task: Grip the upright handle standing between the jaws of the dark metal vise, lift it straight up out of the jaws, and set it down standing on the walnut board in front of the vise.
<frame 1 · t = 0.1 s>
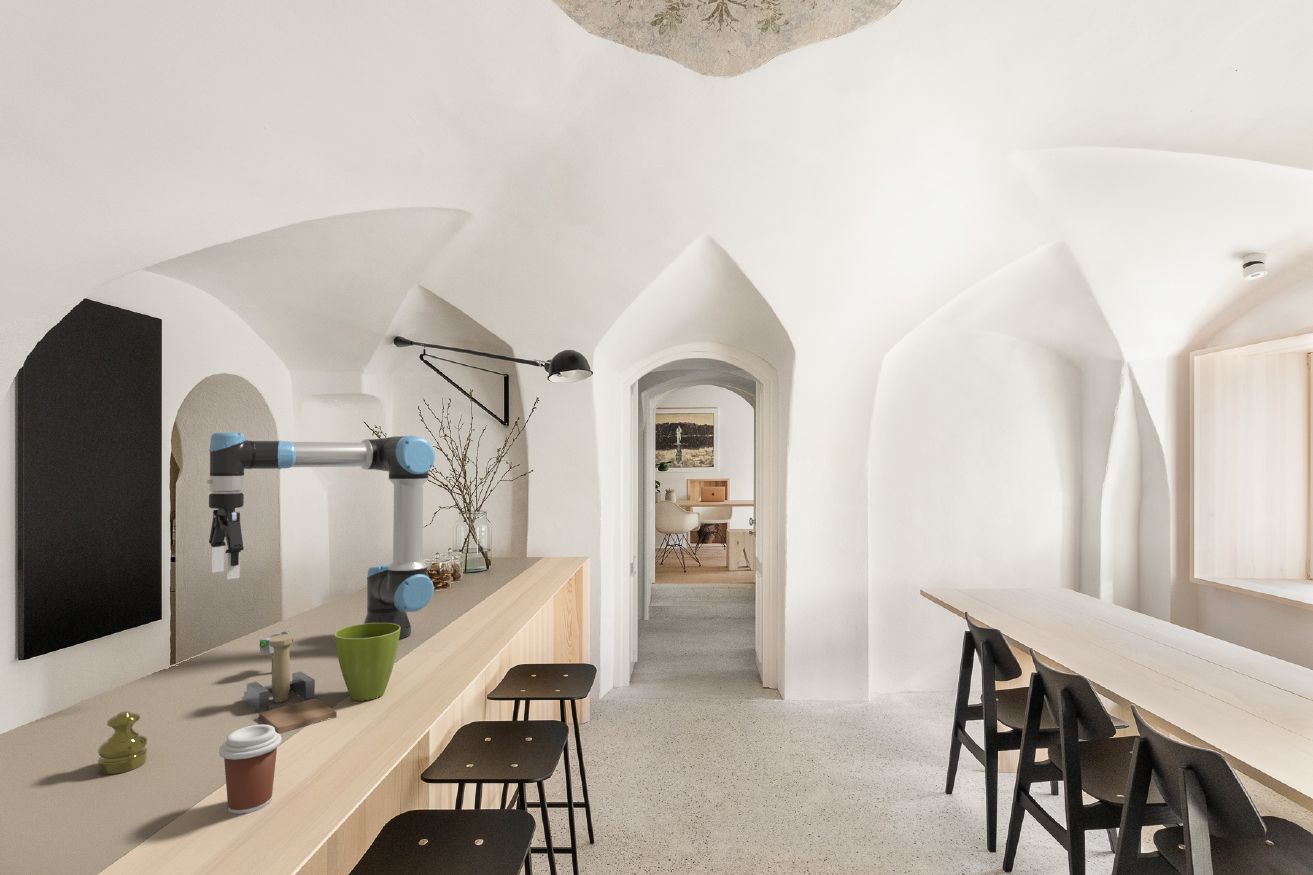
hand: (225, 575, 170), 28 cm above the bar counter, tool pointing down, fingers open, 13 cm apart
coffee cup: (250, 804, 112), on the bar counter
flower pot: (367, 696, 162), on the bar counter
vise: (280, 700, 159), on the bar counter
mechanical component: (274, 673, 179), on the bar counter
walnut board: (298, 717, 148), on the bar counter
olive glossy bulbous piece: (122, 766, 126), on the bar counter
handle: (280, 701, 159), on the bar counter
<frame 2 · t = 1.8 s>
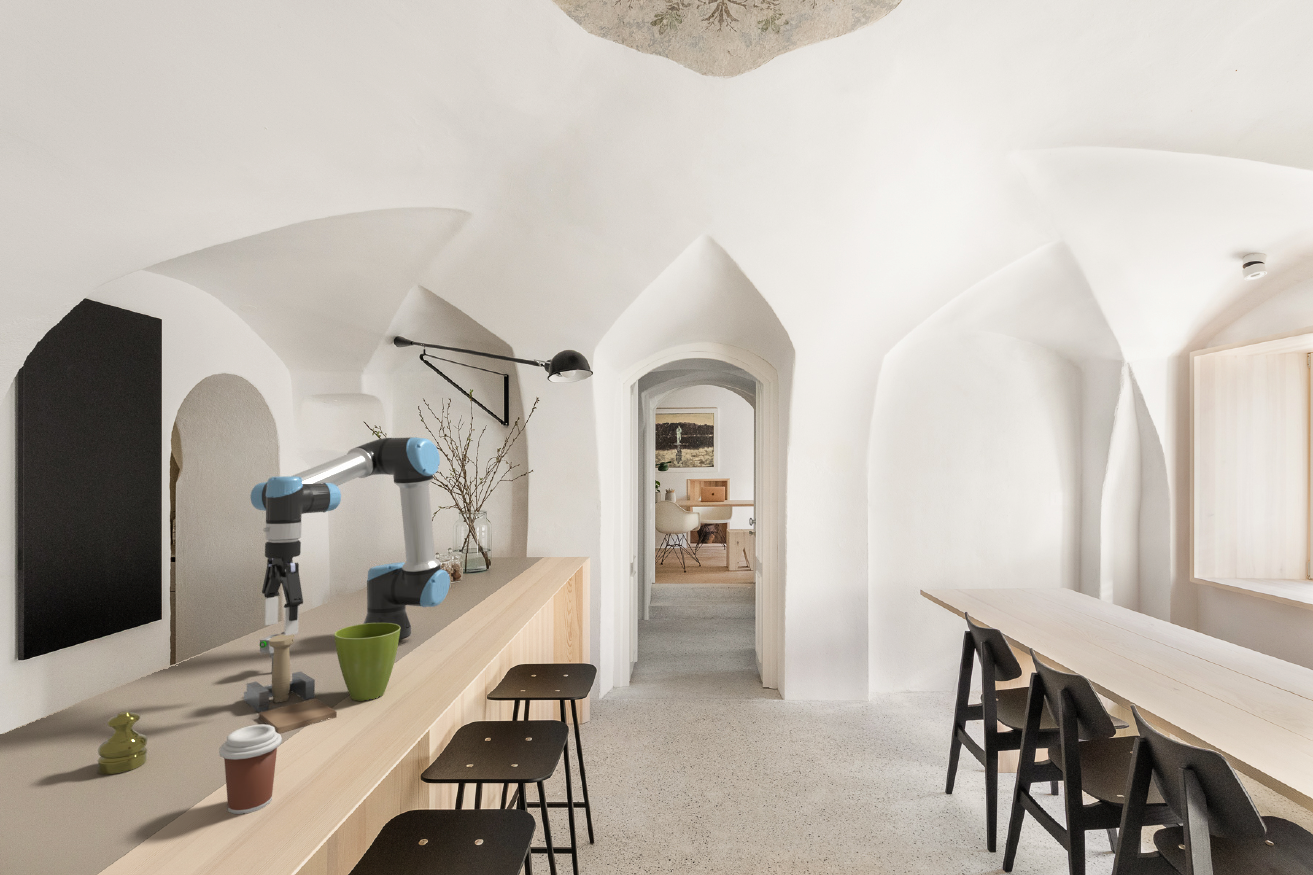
hand: (281, 629, 159), 17 cm above the bar counter, tool pointing down, fingers open, 13 cm apart
nothing on the bar counter moved.
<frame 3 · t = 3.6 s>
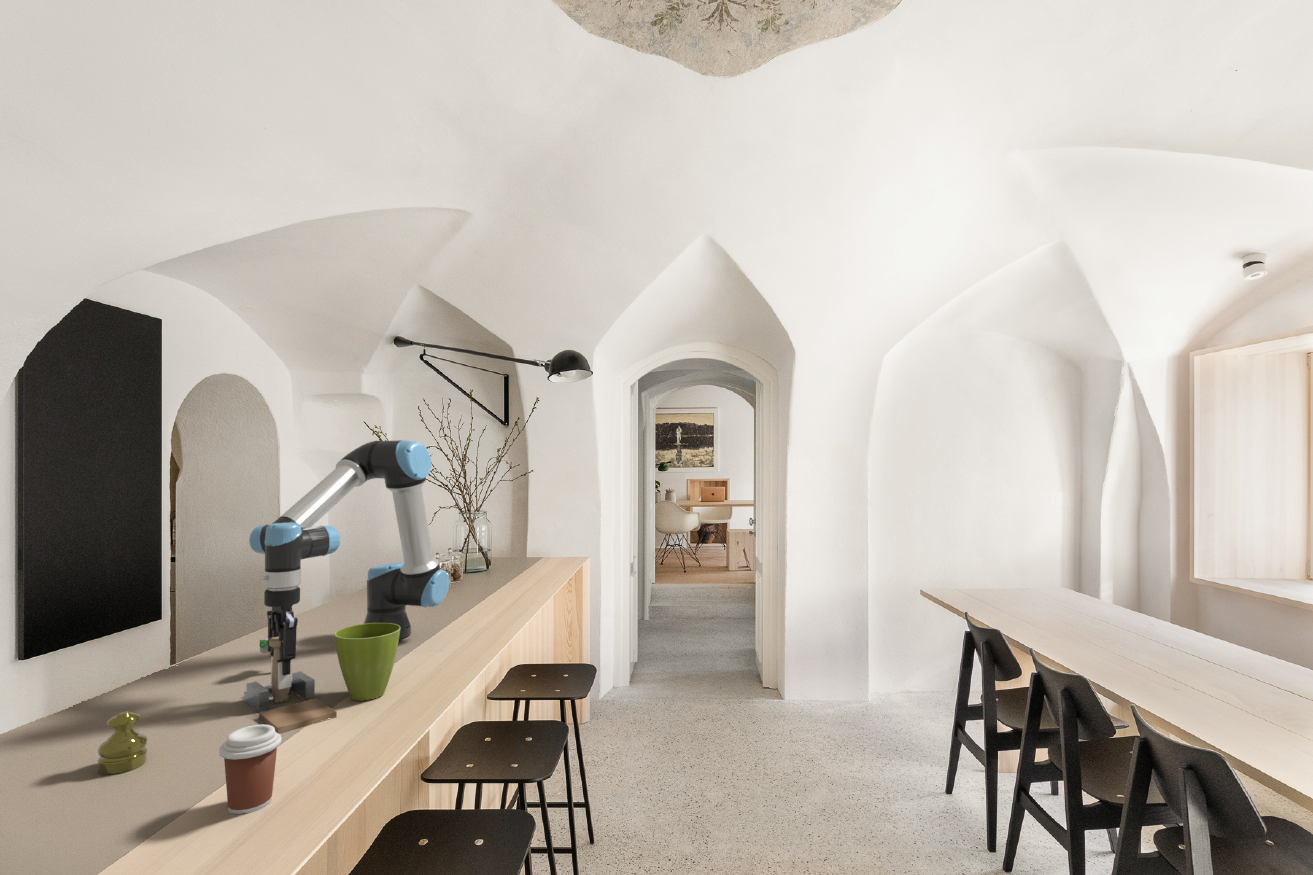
hand: (281, 685, 159), 4 cm above the bar counter, tool pointing down, fingers closed on handle, 4 cm apart
handle: (280, 701, 159), on the bar counter, touching gripper
everything else where it was.
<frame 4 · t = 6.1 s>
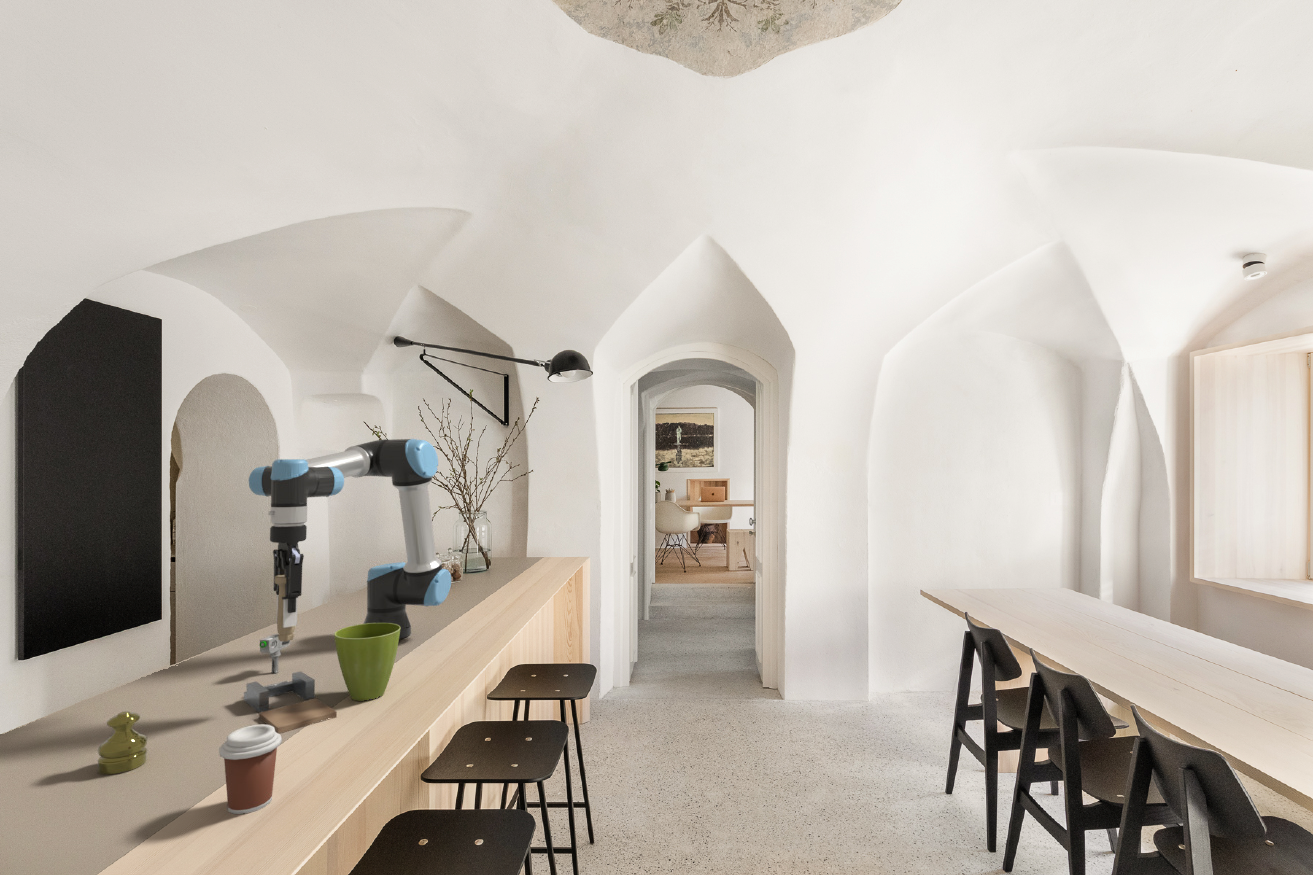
hand: (286, 624, 155), 19 cm above the bar counter, tool pointing down, fingers closed on handle, 4 cm apart
handle: (286, 640, 155), point 15 cm above the bar counter, touching gripper
everything else where it was.
when the fingers open (6 cm above the bar counter, at t = 8.5 s): handle stays where it is, resting on walnut board.
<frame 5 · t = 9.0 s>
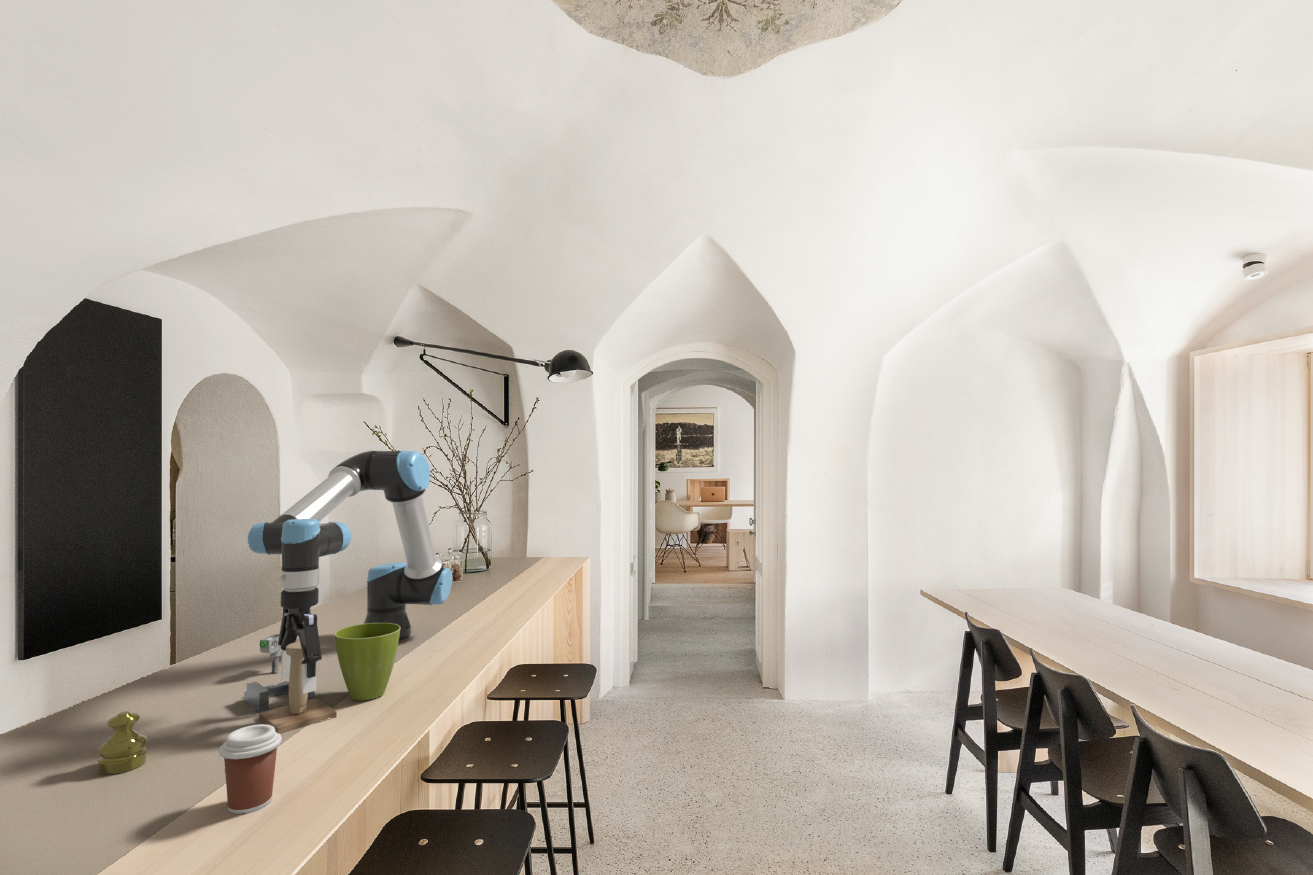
hand: (298, 684, 149), 7 cm above the bar counter, tool pointing down, fingers open, 12 cm apart
handle: (298, 713, 149), point 1 cm above the bar counter, touching walnut board
everything else where it was.
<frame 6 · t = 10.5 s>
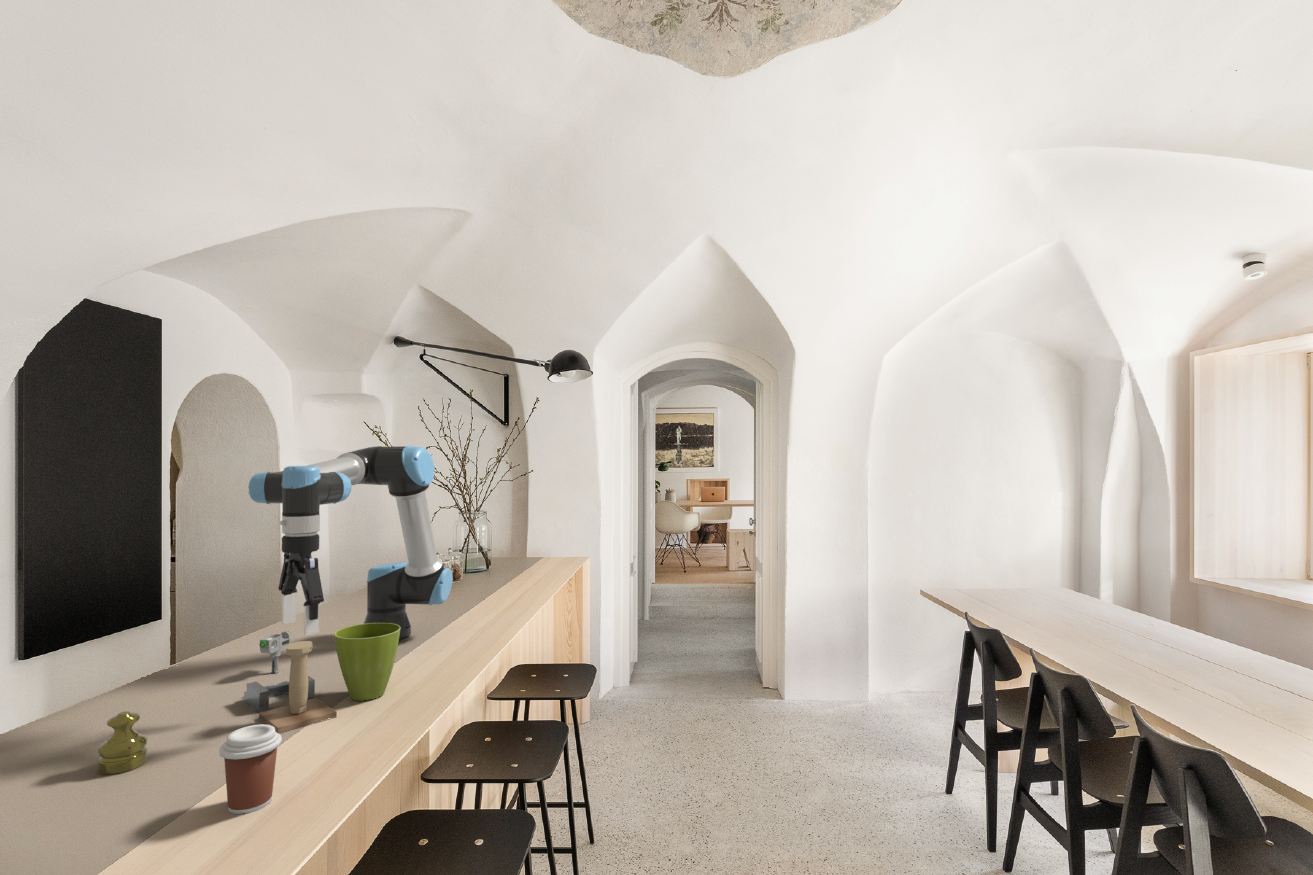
hand: (300, 628, 149), 20 cm above the bar counter, tool pointing down, fingers open, 13 cm apart
nothing on the bar counter moved.
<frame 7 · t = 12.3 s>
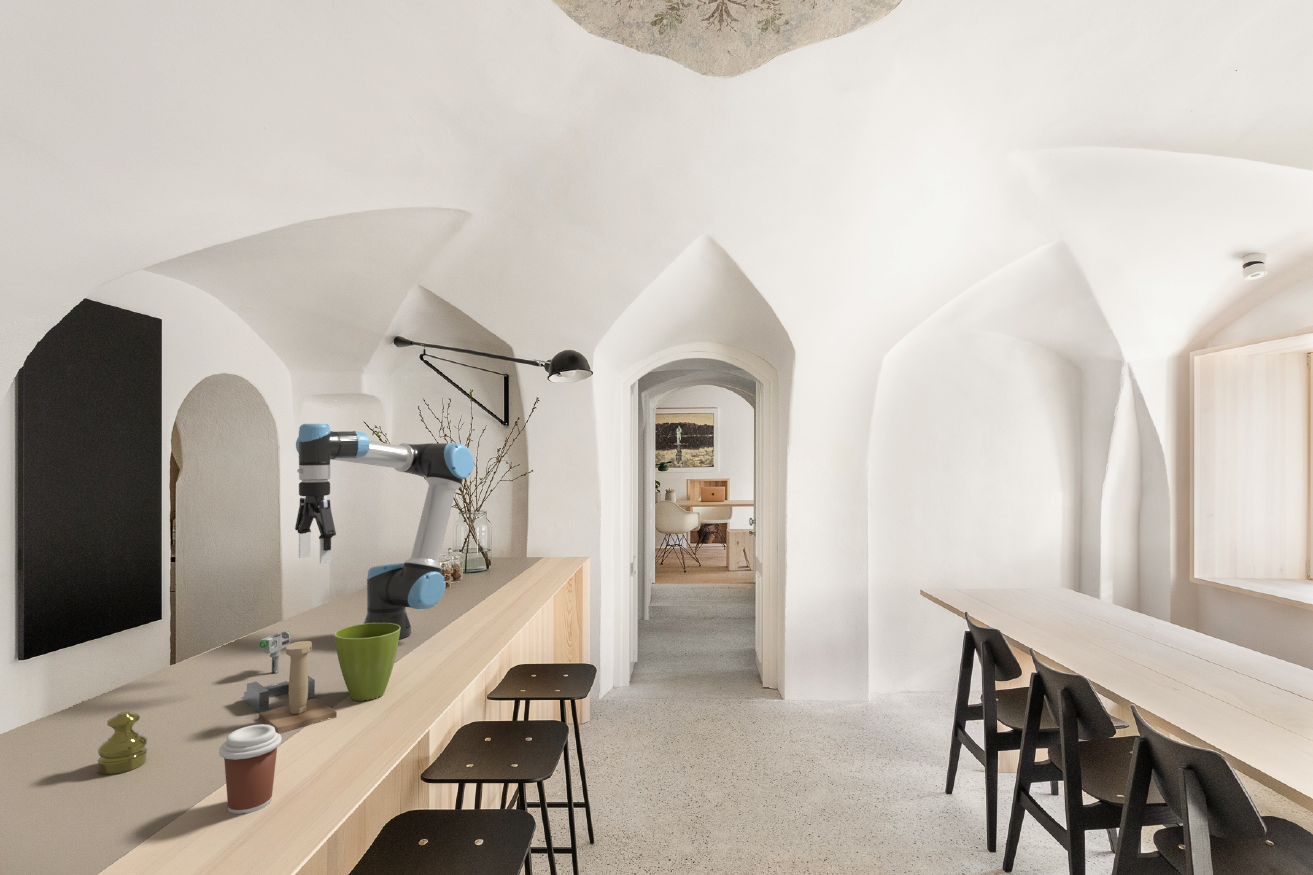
hand: (314, 559, 178), 31 cm above the bar counter, tool pointing down, fingers open, 13 cm apart
nothing on the bar counter moved.
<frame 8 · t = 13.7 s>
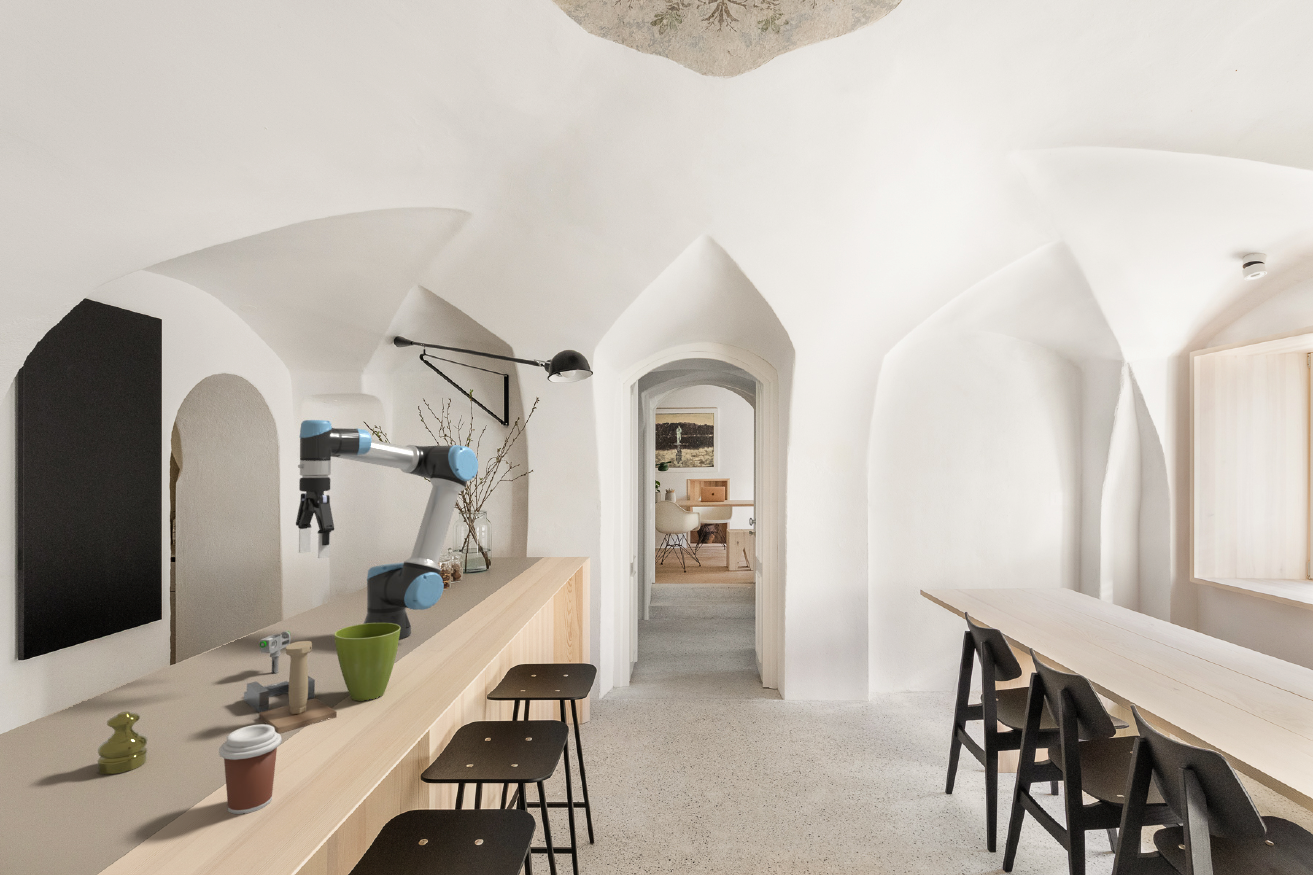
hand: (314, 554, 180), 32 cm above the bar counter, tool pointing down, fingers open, 13 cm apart
nothing on the bar counter moved.
at the end: handle inside the target area on the walnut board (0.0 cm from its centre), point 1.0 cm above the walnut board's base; handle tilted 0°; the gripper is holding nothing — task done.
